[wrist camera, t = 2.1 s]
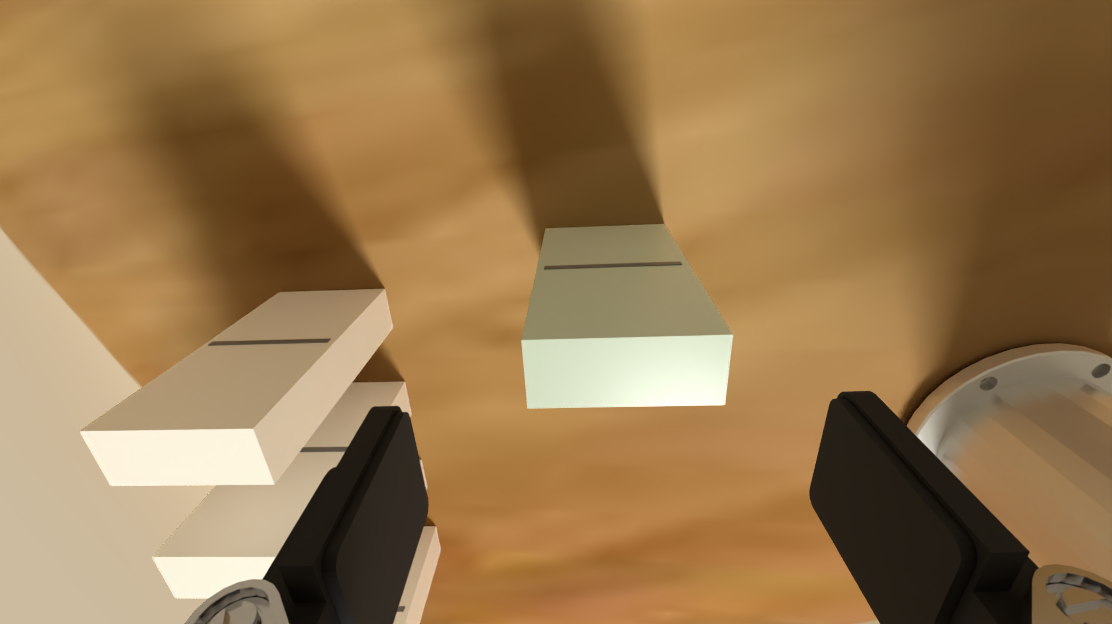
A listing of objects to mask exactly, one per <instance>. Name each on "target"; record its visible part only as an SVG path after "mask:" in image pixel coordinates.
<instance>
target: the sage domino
mask: <svg viewBox="0 0 1112 624" xmlns="http://www.w3.org/2000/svg"><path fill="white" fill-rule="evenodd" d="M732 339H733V334H732V332H731V331H730V329H729V327H728V326H727V324H726V323H725V321H724V319H723V318H722V316H721V314H720V313H719V311H718V310H717V308H716V306H715V305H714V303H713V302H712V300H711V298H710V297H709V295H708V294H707V292H706V290H705V289H704V287H703V285H702V284H701V282H700V281H699V279H698V277H697V276H696V274H695V273H694V271H693V269H692V268H691V266H690V264H689V263H688V261H687V260H686V258H685V256H684V255H683V253H682V252H681V250H680V248H679V247H678V245H677V244H676V242H675V240H674V239H673V237H672V235H671V234H670V232H669V231H668V229H667V227H666V226H665V224H645V225H619V226H593V227H566V228H546V229H545V233H544V238H543V242H542V247H541V252H540V256H539V261H538V266H537V270H536V275H535V280H534V284H533V289H532V293H531V298H530V303H529V307H528V312H527V317H526V321H525V326H524V330H523V335H522V340H521V341H522V352H523V363H524V374H525V385H526V397H527V408H580V407H638V406H695V405H725V399H726V391H727V382H728V374H729V365H730V357H731V348H732Z"/></svg>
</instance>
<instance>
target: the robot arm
mask: <svg viewBox="0 0 1112 624" xmlns="http://www.w3.org/2000/svg"><path fill="white" fill-rule="evenodd" d="M810 500H811V504H812V506H813V508H814V510H815V512H816V513H817V515H818V517H819V519H820V520H821V522H822V524H823V525H824V527H825V529H826V531H827V532H828V534H829V536H830V538H831V539H832V541H833V543H834V545H835V546H836V548H837V550H838V551H839V553H840V555H841V557H842V558H843V560H844V562H845V564H846V565H847V567H848V569H849V571H850V572H851V574H852V576H853V577H854V579H855V581H856V583H857V584H858V586H859V588H860V590H861V591H862V593H863V595H864V597H865V598H866V600H867V602H868V603H869V605H870V607H871V609H872V610H873V612H874V614H875V616H876V617H877V619H878V621H879V622H880V624H1112V357H1110V356H1108V355H1106V354H1104V353H1102V352H1099V351H1096V350H1093V349H1090V348H1087V347H1084V346H1079V345H1071V344H1063V343H1054V344H1035V345H1030V346H1025V347H1020V348H1015V349H1011V350H1008V351H1005V352H1002V353H999V354H996V355H993V356H990V357H987V358H985V359H983V360H981V361H979V362H977V363H975V364H973V365H970V366H968V367H966V368H964V369H963V370H961V371H960V372H958V373H957V374H955V375H954V376H952V377H951V378H949V379H948V380H946V381H945V382H943V383H942V384H941V385H940V386H939V387H938V388H937V389H935V390H934V391H933V392H932V393H931V394H930V395H929V396H928V397H927V398H926V399H925V400H924V401H923V403H922V404H921V405H920V406H919V407H918V408H917V410H916V411H915V412H914V414H913V415H912V417H911V419H910V420H909V422H908V424H907V426H906V425H905V424H904V423H903V422H902V421H901V420H900V419H899V418H898V417H897V416H896V415H895V414H894V413H893V412H892V411H891V410H890V409H889V408H888V407H887V406H886V405H885V403H884V402H883V401H882V400H881V399H880V398H879V397H878V396H877V395H876V394H874V393H873V392H871V391H853V392H841V393H840V394H839V395H838V397H837V399H832V401H831V402H830V405H829V409H828V413H827V417H826V422H825V426H824V430H823V434H822V439H821V443H820V447H819V452H818V456H817V460H816V464H815V469H814V473H813V477H812V482H811V486H810ZM427 514H428V496H427V492H426V487H425V483H424V478H423V474H422V469H421V465H420V460H419V455H418V451H417V446H416V442H415V437H414V433H413V428H412V424H411V419H410V416H409V413H408V412H402V410H401V408H400V407H399V406H374V407H372V408H371V409H370V410H369V412H368V414H367V415H366V417H365V419H364V420H363V422H362V424H361V426H360V427H359V429H358V431H357V432H356V434H355V436H354V437H353V439H352V441H351V443H350V444H349V446H348V448H347V449H346V451H345V453H344V455H343V456H342V458H341V460H340V461H339V463H338V465H337V466H336V467H333V468H332V469H330V470H329V471H328V472H327V474H326V475H325V476H324V478H323V480H322V481H321V483H320V485H319V486H318V488H317V489H316V491H315V493H314V494H313V496H312V498H311V499H310V501H309V503H308V504H307V506H306V508H305V509H304V511H303V513H302V514H301V516H300V518H299V519H298V521H297V523H296V524H295V526H294V528H293V529H292V531H291V533H290V534H289V536H288V538H287V539H286V541H285V543H284V544H283V546H282V548H281V549H280V551H279V553H278V554H277V556H276V558H275V559H274V561H273V562H272V564H271V566H270V567H269V569H268V571H267V572H266V574H265V576H264V577H263V579H262V580H260V579H250V580H246V581H241V582H237V583H235V584H233V585H230V586H228V587H226V588H223V589H222V590H220V591H219V592H217V593H216V594H214V595H213V596H211V597H210V598H208V599H207V600H206V601H205V602H204V603H203V604H202V605H200V606H199V607H198V608H197V609H196V610H195V611H194V612H193V613H192V615H191V616H190V617H189V619H188V620H187V621H186V622H185V624H393V623H394V620H395V616H396V613H397V610H398V607H399V604H400V600H401V597H402V594H403V591H404V588H405V584H406V581H407V578H408V575H409V572H410V569H411V565H412V562H413V559H414V556H415V553H416V549H417V546H418V543H419V540H420V537H421V534H422V530H423V527H424V524H425V521H426V518H427Z"/></svg>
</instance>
